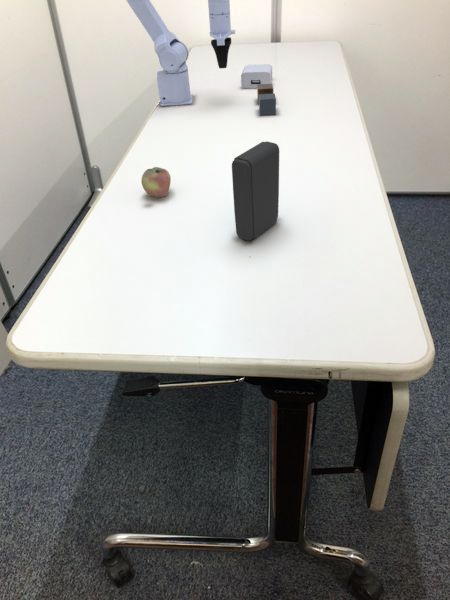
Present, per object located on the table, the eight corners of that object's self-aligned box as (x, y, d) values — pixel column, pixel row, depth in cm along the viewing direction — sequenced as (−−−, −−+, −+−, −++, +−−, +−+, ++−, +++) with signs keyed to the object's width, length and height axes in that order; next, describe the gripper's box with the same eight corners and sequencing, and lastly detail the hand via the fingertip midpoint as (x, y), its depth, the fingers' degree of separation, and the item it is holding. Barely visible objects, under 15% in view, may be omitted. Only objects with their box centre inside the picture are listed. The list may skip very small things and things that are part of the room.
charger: (273, 74, 157) (270, 87, 146) (246, 74, 159) (241, 88, 148) (273, 58, 154) (270, 71, 143) (245, 59, 156) (240, 72, 145)
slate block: (259, 115, 128) (259, 99, 125) (259, 110, 132) (258, 94, 129) (275, 114, 128) (275, 98, 125) (274, 109, 131) (274, 93, 129)
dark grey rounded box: (263, 215, 88) (262, 137, 79) (280, 221, 86) (282, 142, 77) (233, 237, 83) (228, 157, 74) (251, 244, 81) (248, 163, 71)
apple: (140, 205, 94) (135, 178, 90) (147, 187, 100) (142, 161, 96) (169, 204, 94) (165, 177, 90) (174, 186, 100) (171, 160, 96)
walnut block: (258, 105, 135) (257, 89, 132) (257, 100, 138) (257, 84, 136) (273, 104, 135) (273, 88, 132) (272, 99, 138) (272, 83, 135)
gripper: (234, 17, 119) (237, 73, 128) (233, 7, 130) (236, 60, 139) (207, 19, 119) (211, 75, 128) (208, 8, 130) (212, 61, 139)
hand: (222, 67), depth 133 cm, fingers closed
